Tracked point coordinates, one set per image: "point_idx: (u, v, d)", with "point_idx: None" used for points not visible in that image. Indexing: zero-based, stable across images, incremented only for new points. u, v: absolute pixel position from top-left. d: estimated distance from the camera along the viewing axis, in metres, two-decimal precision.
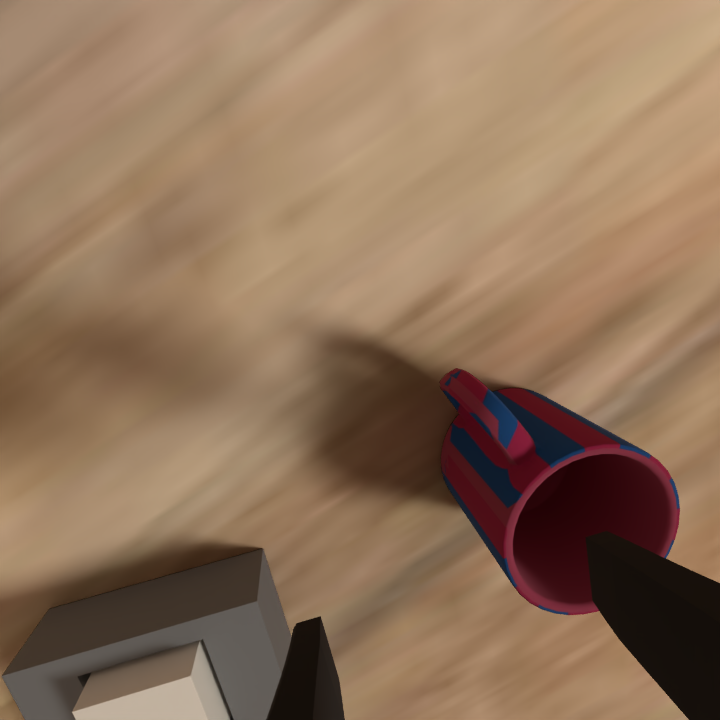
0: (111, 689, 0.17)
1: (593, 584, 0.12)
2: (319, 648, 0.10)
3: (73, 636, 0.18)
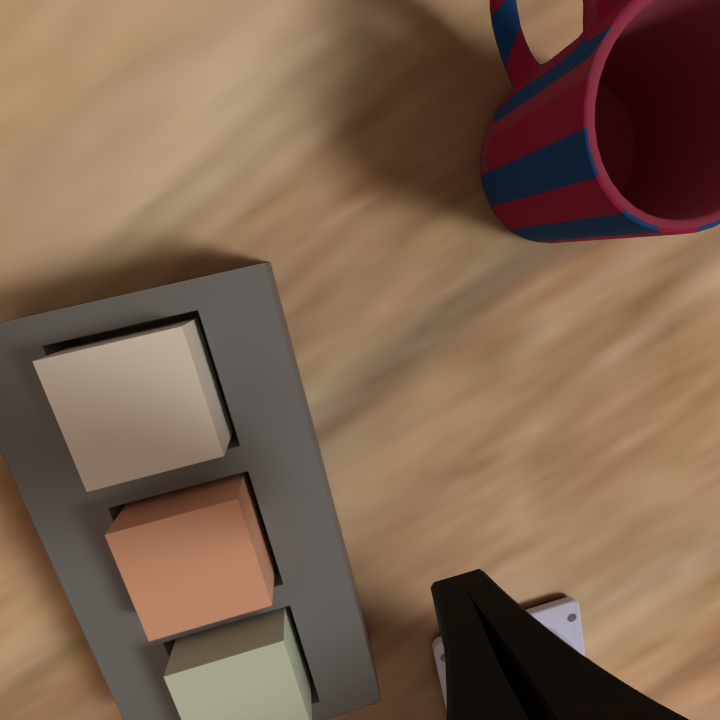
0: (83, 347, 0.14)
1: None
2: (471, 602, 0.10)
3: None
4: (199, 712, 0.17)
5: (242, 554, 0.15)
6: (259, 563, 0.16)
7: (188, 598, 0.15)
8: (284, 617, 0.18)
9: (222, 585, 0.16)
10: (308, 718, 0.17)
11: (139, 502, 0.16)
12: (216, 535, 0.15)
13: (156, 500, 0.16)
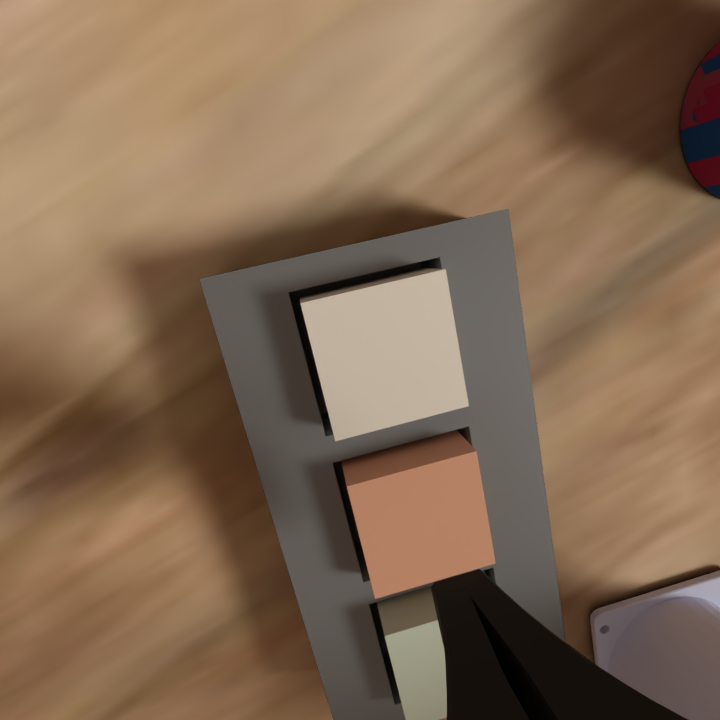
0: (341, 292, 0.13)
1: None
2: (472, 602, 0.10)
3: None
4: (413, 674, 0.16)
5: (474, 509, 0.15)
6: (487, 519, 0.15)
7: (417, 554, 0.15)
8: None
9: (451, 541, 0.15)
10: None
11: (355, 458, 0.16)
12: (452, 489, 0.15)
13: (375, 456, 0.16)
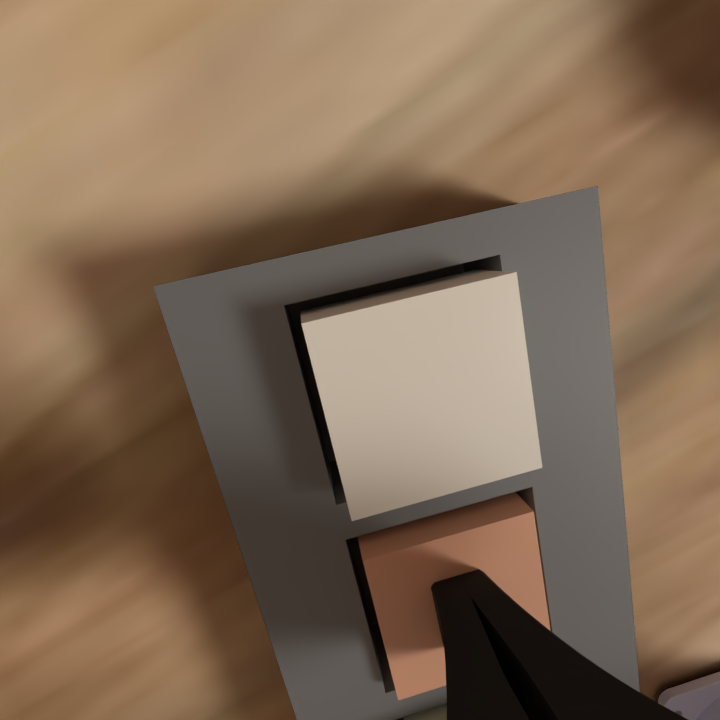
0: (361, 306, 0.09)
1: None
2: (471, 602, 0.10)
3: None
4: None
5: (528, 585, 0.12)
6: (543, 596, 0.12)
7: None
8: None
9: None
10: None
11: None
12: (500, 560, 0.11)
13: None
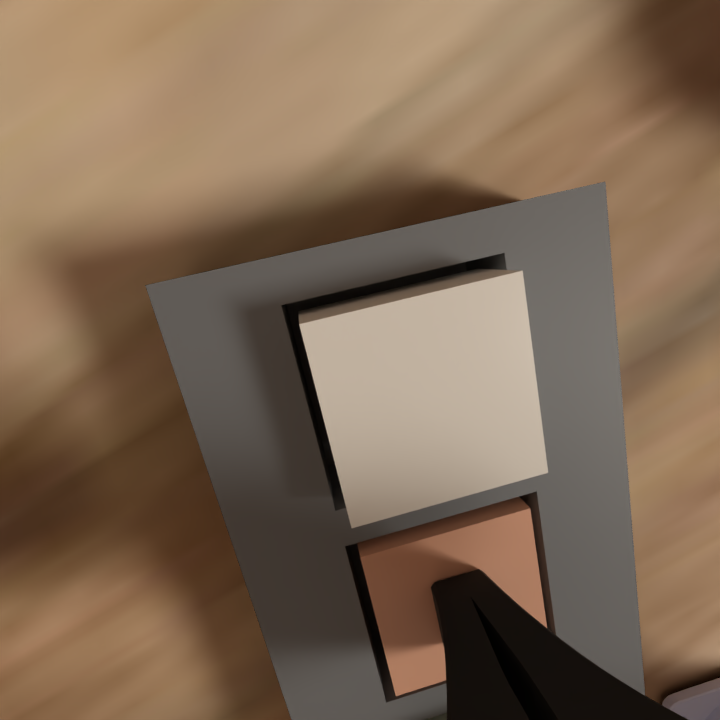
0: (362, 305, 0.09)
1: None
2: (472, 601, 0.10)
3: None
4: None
5: (524, 581, 0.12)
6: None
7: None
8: None
9: None
10: None
11: None
12: (497, 557, 0.11)
13: None
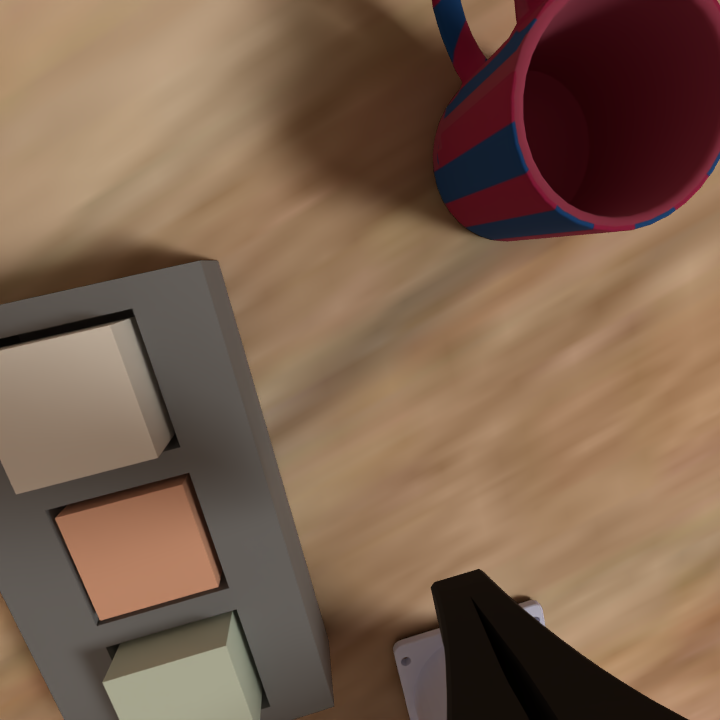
0: (10, 347, 0.13)
1: None
2: (472, 601, 0.10)
3: None
4: (140, 718, 0.16)
5: (188, 537, 0.16)
6: (205, 546, 0.16)
7: (137, 579, 0.16)
8: (230, 621, 0.17)
9: (170, 567, 0.16)
10: None
11: None
12: (162, 519, 0.16)
13: None
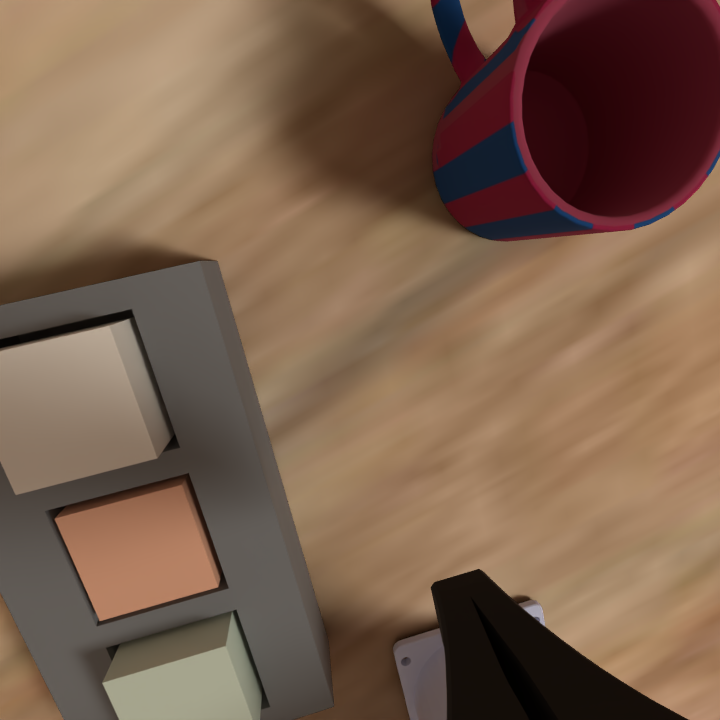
0: (10, 348, 0.13)
1: None
2: (472, 602, 0.10)
3: None
4: (140, 719, 0.16)
5: (188, 538, 0.16)
6: (205, 546, 0.16)
7: (137, 580, 0.16)
8: (230, 622, 0.17)
9: (169, 568, 0.16)
10: None
11: None
12: (162, 519, 0.16)
13: None
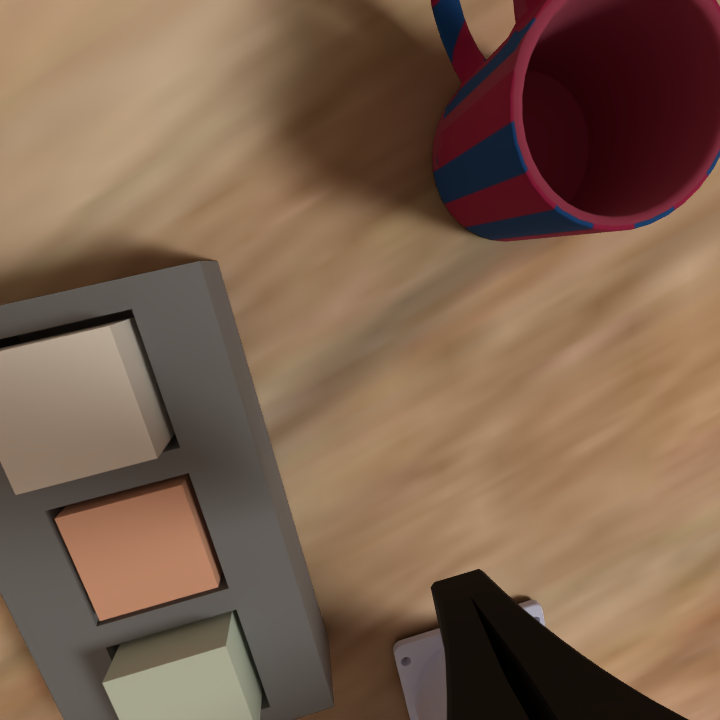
0: (10, 348, 0.13)
1: None
2: (472, 602, 0.10)
3: None
4: (140, 719, 0.16)
5: (188, 538, 0.16)
6: (205, 546, 0.16)
7: (137, 580, 0.16)
8: (230, 622, 0.17)
9: (169, 568, 0.16)
10: None
11: None
12: (162, 519, 0.16)
13: None
